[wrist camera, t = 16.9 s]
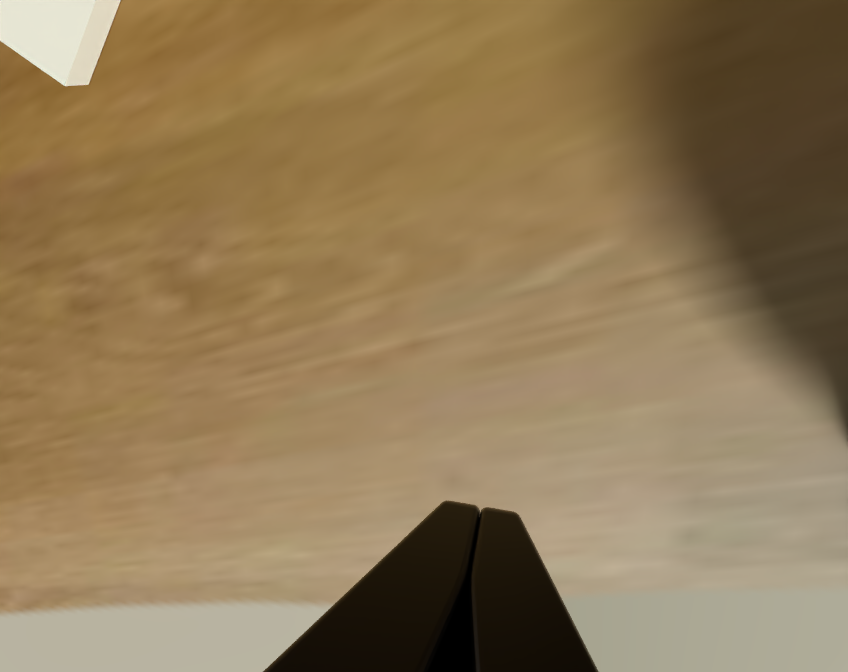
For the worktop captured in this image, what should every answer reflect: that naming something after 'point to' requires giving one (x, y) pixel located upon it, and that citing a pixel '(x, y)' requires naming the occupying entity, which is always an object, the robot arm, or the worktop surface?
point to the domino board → (58, 34)
